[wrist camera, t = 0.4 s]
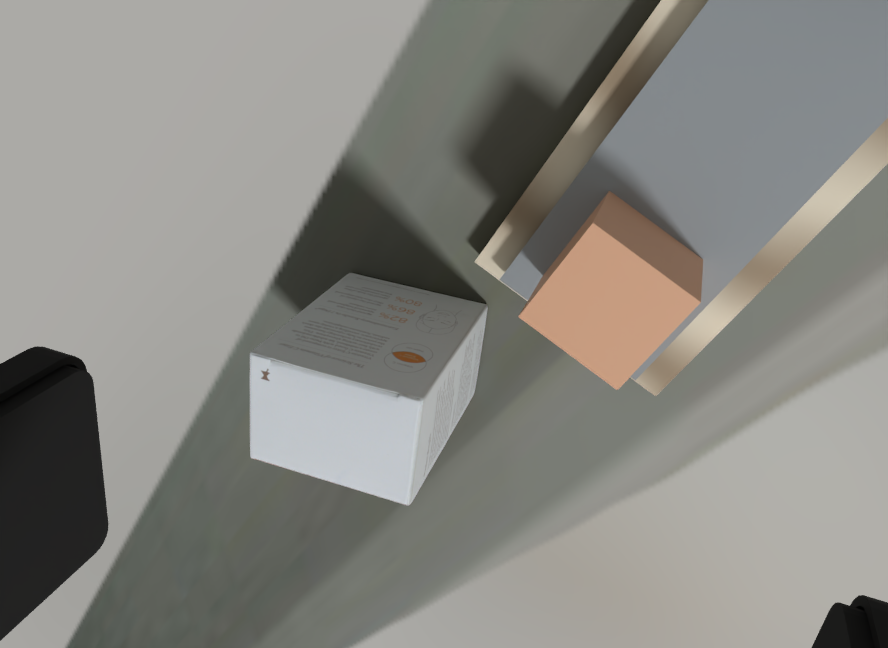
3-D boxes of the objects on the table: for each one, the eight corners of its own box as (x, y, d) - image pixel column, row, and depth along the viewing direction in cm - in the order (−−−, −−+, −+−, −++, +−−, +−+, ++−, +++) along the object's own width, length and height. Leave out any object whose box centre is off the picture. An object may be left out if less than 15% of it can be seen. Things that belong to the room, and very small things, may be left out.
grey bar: (860, -203, 26) (911, -270, 19) (1054, -65, 25) (1175, -81, 19) (503, 274, 37) (455, 340, 30) (637, 372, 36) (618, 461, 30)
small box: (343, 358, 43) (243, 459, 34) (349, 268, 41) (243, 351, 32) (477, 394, 41) (409, 512, 32) (492, 302, 39) (422, 401, 30)
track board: (1102, -616, 21) (1118, -642, 20) (1425, -391, 21) (1455, -407, 20) (480, 255, 38) (474, 262, 37) (657, 386, 38) (655, 396, 37)
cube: (609, 190, 33) (592, 222, 28) (703, 259, 32) (700, 302, 28) (543, 275, 35) (518, 316, 31) (629, 339, 35) (617, 390, 31)
